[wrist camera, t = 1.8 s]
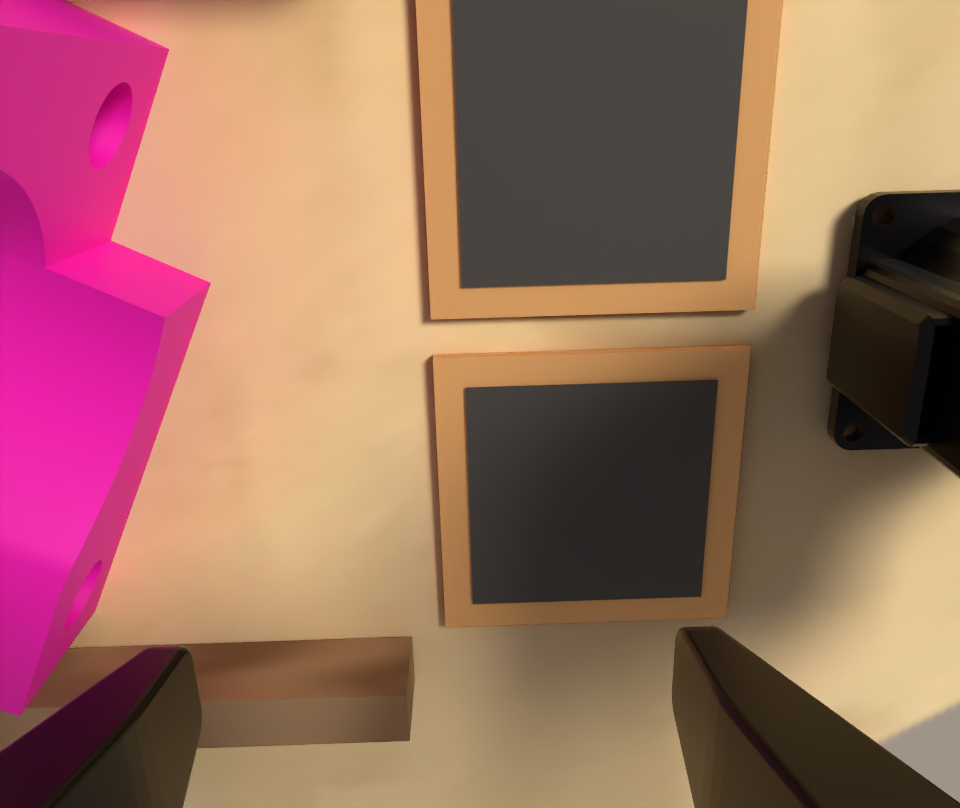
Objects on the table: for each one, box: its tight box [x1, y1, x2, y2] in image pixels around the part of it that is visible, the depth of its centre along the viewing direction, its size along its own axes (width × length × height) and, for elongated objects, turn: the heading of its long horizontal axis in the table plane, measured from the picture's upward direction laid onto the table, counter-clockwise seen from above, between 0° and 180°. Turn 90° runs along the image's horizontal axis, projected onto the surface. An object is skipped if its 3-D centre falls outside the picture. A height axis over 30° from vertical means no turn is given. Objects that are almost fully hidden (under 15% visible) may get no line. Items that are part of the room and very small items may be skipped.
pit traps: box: [416, 0, 783, 627], centre depth 21 cm, size 8×17×1 cm, turn 2°
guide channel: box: [0, 637, 415, 751], centre depth 20 cm, size 13×21×2 cm, turn 1°
